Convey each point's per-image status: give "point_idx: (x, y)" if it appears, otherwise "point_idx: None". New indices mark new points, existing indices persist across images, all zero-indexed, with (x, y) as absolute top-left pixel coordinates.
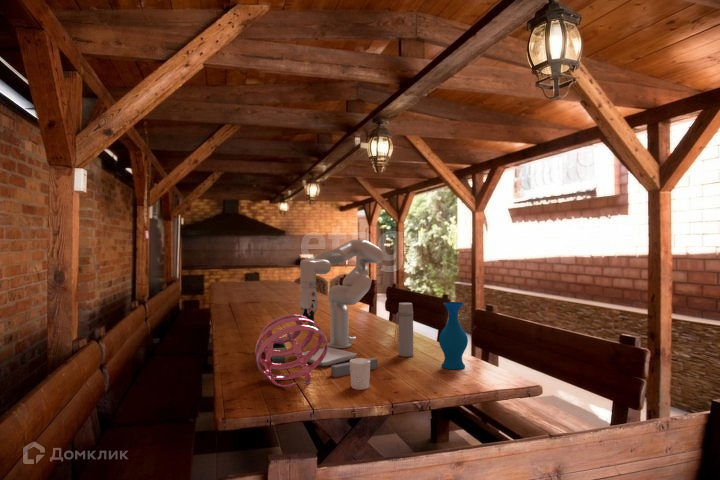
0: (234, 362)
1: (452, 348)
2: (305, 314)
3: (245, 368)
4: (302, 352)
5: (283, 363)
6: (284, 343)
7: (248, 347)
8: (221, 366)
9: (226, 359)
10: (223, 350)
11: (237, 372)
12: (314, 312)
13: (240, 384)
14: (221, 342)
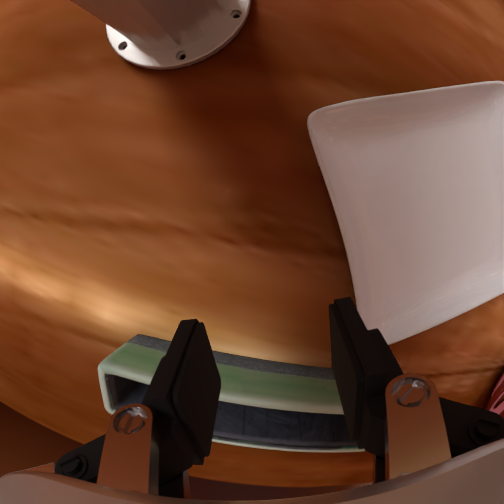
0: (266, 468)
1: None
2: (197, 433)
3: (348, 456)
4: (358, 308)
5: (491, 409)
6: (312, 411)
7: (78, 397)
8: (290, 484)
9: (220, 473)
10: None
11: (369, 465)
12: (481, 412)
13: None
14: (25, 413)
